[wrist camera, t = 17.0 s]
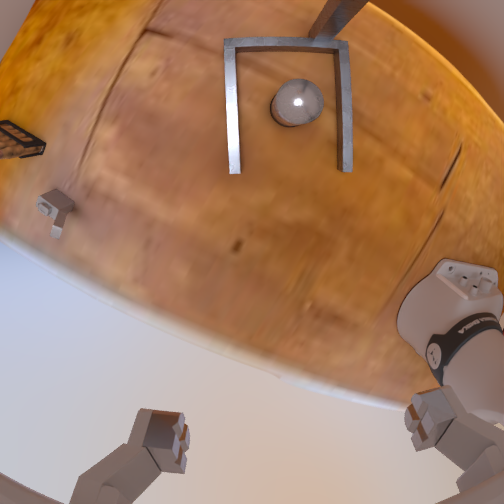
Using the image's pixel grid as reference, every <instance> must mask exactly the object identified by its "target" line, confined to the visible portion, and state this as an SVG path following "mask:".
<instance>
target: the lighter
mask: <svg viewBox="0 0 504 504" xmlns="http://www.w3.org/2000/svg"><path fill="white" fill-rule="evenodd" d="M73 206H74V201H73V200H71V199H70V198H68V197H67V196H66V195H64V194H63V193H61V192H60V191H58V190H57V189H55V190H52V191H50V192H47V193H45V194H42V195H40V196H38V199H37V202H36V207H38V210H39V211H40V212H41V213H42V214H44V215H45V216H50V217H51V218H52V219H54V220H55V222H54V224H53V227H52V231H51V234H50V236H51V237H53V238H56V239H59V238H60V235H61V231H62V228H63V225H64V222H65V219H66V216H67V213H69V212H71V211H72V209H73Z"/></svg>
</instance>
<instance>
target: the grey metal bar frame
mask: <svg viewBox="0 0 504 504" xmlns="http://www.w3.org/2000/svg"><path fill="white" fill-rule="evenodd" d="M368 1H369V0H328V1H327V3H326V4H325V6H324V8H323V9H322V11H321V13H320V14H319V16H318V18H317V19H316V21H315V23H314V24H313V26H312V28H311V29H310V31H309V38H302V37H246V38H229V39H224V61H225V86H226V109H227V130H228V150H229V168H230V174H238V173H241V158H240V137H239V115H238V92H237V69H236V52H260V51H292V52H316V53H330V54H334V67H335V84H336V106H337V169H338V170H340V171H342V172H352V167H353V129H352V95H351V77H350V62H349V50H348V41H341V40H333V39H334V37H335V36H336V35H337V34H338V33H339V32H340V31H341V30H342V29H343V28H344V27H345V25H346V24H347V23H348V22H349V21H350V20H351V19H352V18H353V17H354V16H355V15H356V14H357V13H358V12H359V11H360V10H361V9H362V8H363V7H364V5H365V4H366V3H367V2H368Z"/></svg>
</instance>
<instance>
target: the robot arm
mask: <svg viewBox="0 0 504 504" xmlns="http://www.w3.org/2000/svg"><path fill="white" fill-rule="evenodd" d="M449 267H450V268H449ZM497 287H498V274H497V271H496V270H495V269H494V268H490V267H485V266H480V265H476V264H471V263H466V262H461V261H455V260H450V259H443V260H441V261H440V262H439V263H438V264H437V266H436V267H435V269H434V270H433V271H432V273H431V274H430V275H429V276H427V277H426V278H425V279H423V280H422V281H421V282H419V283H418V284H417V285H416V286H415V287H414V288H413V289H412V290H411V291H410V293H409V294H408V295H407V297H406V298H405V300H404V302H403V304H402V306H401V308H400V311H399V314H398V319H397V328H398V332H399V334H400V336H401V337H402V338H403V339H404V340H405V341H406V342H408V343H409V344H410V345H411V346H412V347H413V348H414V350H415V351H416V352H417V354H418V355H421V356H422V357H423V359H424V360H425V361H426V362H427V363H428V365H429V367H430V369H431V372H432V373H433V375H434V377H435V378H436V380H437V382H438V383H439V385H440V386H441V387H439V388H434V389H430V390H426V391H423V392H419V393H415V394H414V395H413V397H412V399H411V402H412V404H411V405H410V406H409V407H407V409H406V412H405V425H406V427H407V430H409V431H410V432H412V433H413V435H412V437H411V440H412V442H413V445H414V447H415V450H416V451H421V450H424V449H428V448H431V447H434V446H435V448H436V449H437V450H439V451H440V452H441V453H442V454H444V455H445V456H446V457H447V458H449V459H450V460H451V461H452V462H454V463H455V464H456V465H457V466H459V467H460V468H461V469H462V470H464V471H465V472H464V473H463V474H462V475H461V476H460V477H459V478H458V479H457V482H456V483H457V486H458V488H459V491H460V493H459V494H457V495H454V496H452V497H450V498H448V499H445V500H443V501H441V502H438V503H436V504H504V431H503V430H501V429H499V428H498V427H496V426H494V424H497V423H501V424H502V425H503V426H504V329H503V331H502V329H501V327H500V324H499V320H500V317H501V313H502V309H503V295H502V293H501V291H500V290H499V289H498V288H497ZM184 422H185V417H184V414H183V413H179V412H169V411H159V410H151V409H143V408H141V409H140V410H139V411H138V413H137V416H136V419H135V422H134V425H133V428H132V431H131V434H130V437H129V440H128V443H127V444H122V445H121V446H120V447H118V448H117V449H116V450H114V451H113V452H112V453H110V454H109V455H108V456H106V457H105V458H104V459H102V460H101V461H100V462H98V463H97V464H96V465H94V466H93V467H91V468H90V469H89V470H87V471H86V472H85V473H83V474H82V475H81V476H79V478H78V481H77V483H76V486H75V489H74V491H73V495H72V497H71V500H70V503H69V504H132V503H133V502H134V501H135V500H136V499H137V498H138V497H139V496H140V495H141V494H142V493H143V491H145V490H146V488H147V487H148V486H149V485H150V484H151V483H152V482H153V481H154V480H155V479H156V478H157V477H158V476H159V475H160V474H161V472H170V473H180V474H184V473H185V467H186V462H187V458H186V456H185V452H186V451H187V450H188V449H189V443H190V433H189V429H188V426H187V425H186V424H185V423H184ZM0 504H64V503H61V502H59V501H56V500H54V499H52V498H49V497H47V496H45V495H43V494H41V493H38V492H36V491H34V490H32V489H30V488H28V487H26V486H24V485H22V484H20V483H18V482H17V481H15V480H13V479H11V478H9V477H7V476H6V475H4V474H2V473H0Z"/></svg>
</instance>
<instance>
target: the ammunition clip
mask: <svg viewBox="0 0 504 504" xmlns="http://www.w3.org/2000/svg"><path fill="white" fill-rule="evenodd" d="M45 146H46V143H45V142H44V141H42V140H40V139H39V138H37V137H35V136H34V135H32V134H30V133H29V132H27V131H25V130H24V129H22V128H20V127H19V126H17V125H15V124H14V123H12V122H10V121H9V120H3V121H0V159H10V158H15V157H19V158H26V157H31V156H37V155H43V152H44V149H45Z"/></svg>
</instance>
